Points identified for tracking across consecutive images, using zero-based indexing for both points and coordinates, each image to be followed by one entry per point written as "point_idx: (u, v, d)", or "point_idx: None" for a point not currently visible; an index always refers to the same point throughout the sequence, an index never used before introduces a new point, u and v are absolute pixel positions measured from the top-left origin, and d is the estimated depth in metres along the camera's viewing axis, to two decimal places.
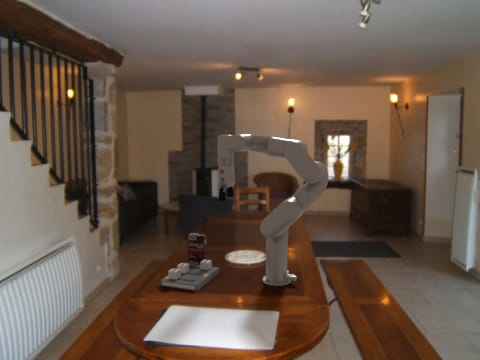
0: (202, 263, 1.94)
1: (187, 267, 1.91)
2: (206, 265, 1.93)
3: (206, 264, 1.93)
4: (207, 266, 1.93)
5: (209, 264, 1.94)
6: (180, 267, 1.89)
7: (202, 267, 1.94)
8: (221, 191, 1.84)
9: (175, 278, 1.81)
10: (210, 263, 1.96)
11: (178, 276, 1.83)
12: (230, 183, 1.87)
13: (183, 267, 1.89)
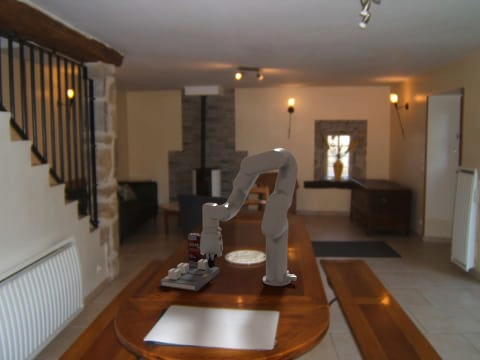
0: (199, 263, 1.95)
1: (187, 267, 1.91)
2: (203, 265, 1.94)
3: (203, 264, 1.94)
4: (204, 266, 1.94)
5: (206, 264, 1.95)
6: (180, 267, 1.89)
7: (199, 267, 1.95)
8: None
9: (175, 278, 1.81)
10: (207, 263, 1.96)
11: (178, 276, 1.83)
12: None
13: (183, 267, 1.89)
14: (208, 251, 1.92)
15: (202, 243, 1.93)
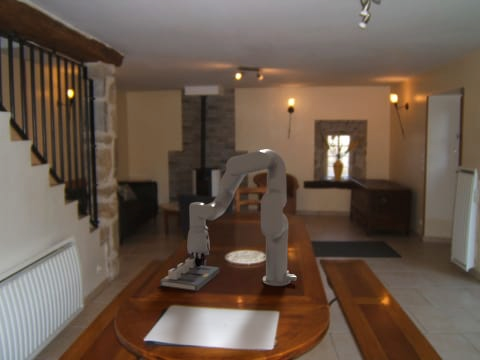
0: (187, 261, 1.97)
1: (187, 267, 1.91)
2: (191, 263, 1.96)
3: (191, 262, 1.96)
4: (192, 264, 1.96)
5: (194, 262, 1.97)
6: (180, 267, 1.89)
7: None
8: None
9: (175, 278, 1.81)
10: None
11: (178, 276, 1.83)
12: None
13: (183, 267, 1.89)
14: (195, 250, 1.94)
15: (189, 242, 1.95)
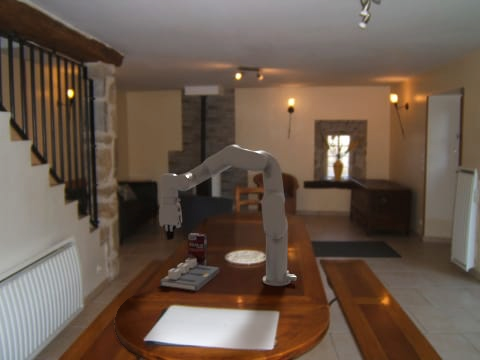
0: (187, 261, 1.97)
1: (187, 267, 1.91)
2: (191, 263, 1.96)
3: (191, 262, 1.96)
4: (192, 264, 1.96)
5: (194, 262, 1.97)
6: (180, 267, 1.89)
7: None
8: None
9: (175, 278, 1.81)
10: (195, 261, 1.98)
11: (178, 276, 1.83)
12: None
13: (183, 267, 1.89)
14: (167, 222, 1.89)
15: (161, 214, 1.90)
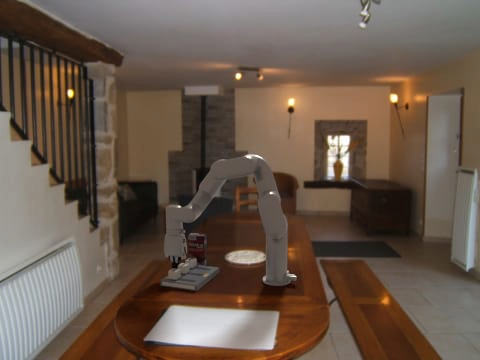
0: (187, 261, 1.97)
1: (188, 267, 1.91)
2: (191, 263, 1.96)
3: (191, 262, 1.96)
4: (192, 264, 1.96)
5: (194, 262, 1.97)
6: (181, 267, 1.89)
7: None
8: None
9: (175, 278, 1.81)
10: (195, 261, 1.98)
11: (178, 276, 1.83)
12: None
13: (184, 267, 1.89)
14: (172, 254, 1.90)
15: (166, 245, 1.90)
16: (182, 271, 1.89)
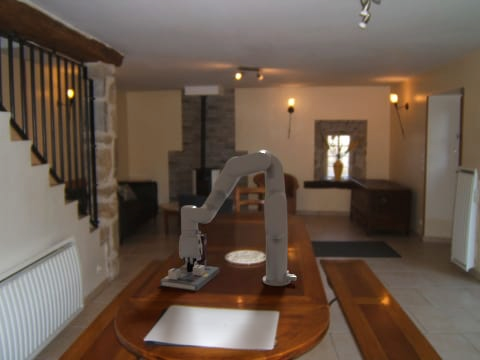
0: None
1: (203, 269, 1.88)
2: None
3: None
4: None
5: None
6: (196, 269, 1.86)
7: None
8: (194, 262, 1.89)
9: (175, 278, 1.81)
10: None
11: (178, 276, 1.83)
12: None
13: (199, 269, 1.86)
14: (187, 255, 1.87)
15: (181, 247, 1.88)
16: (197, 273, 1.86)
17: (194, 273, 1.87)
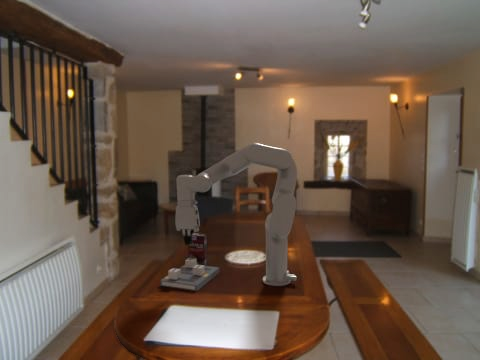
0: (187, 261, 1.97)
1: (203, 269, 1.88)
2: (191, 263, 1.96)
3: (191, 262, 1.96)
4: (192, 264, 1.96)
5: (194, 262, 1.97)
6: (196, 269, 1.86)
7: (187, 265, 1.97)
8: (191, 234, 1.81)
9: (175, 278, 1.81)
10: (195, 261, 1.98)
11: (178, 276, 1.83)
12: None
13: (199, 269, 1.86)
14: (184, 226, 1.79)
15: (177, 218, 1.80)
16: (197, 273, 1.86)
17: (194, 273, 1.87)
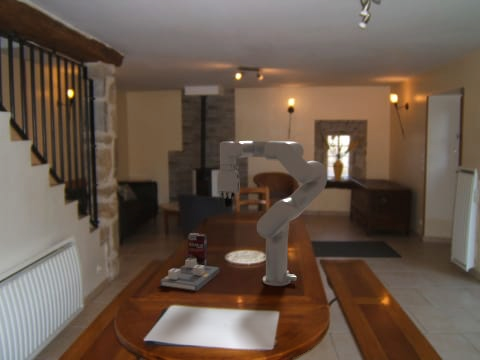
0: (187, 261, 1.97)
1: (203, 269, 1.88)
2: (191, 263, 1.96)
3: (191, 262, 1.96)
4: (192, 264, 1.96)
5: (194, 262, 1.97)
6: (196, 269, 1.86)
7: (187, 265, 1.97)
8: (232, 197, 1.95)
9: (175, 278, 1.81)
10: (195, 261, 1.98)
11: (178, 276, 1.83)
12: None
13: (199, 269, 1.86)
14: (225, 189, 1.93)
15: (219, 181, 1.93)
16: (197, 273, 1.86)
17: (194, 273, 1.87)
